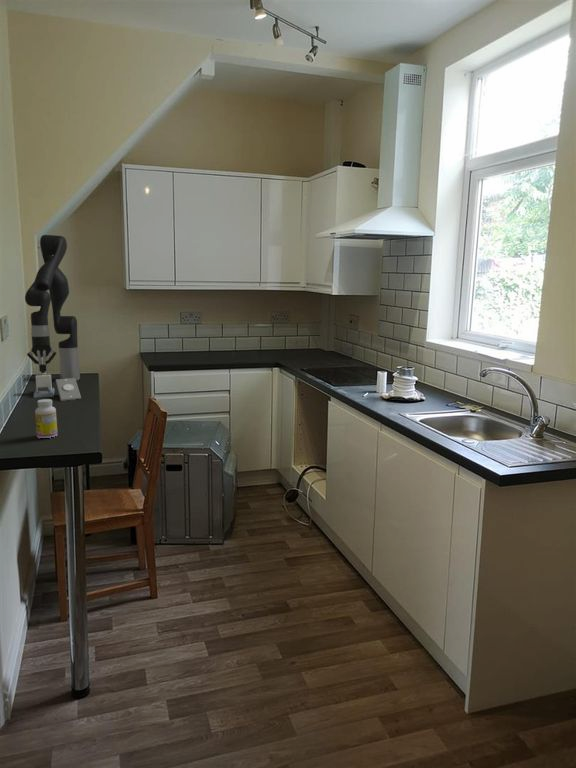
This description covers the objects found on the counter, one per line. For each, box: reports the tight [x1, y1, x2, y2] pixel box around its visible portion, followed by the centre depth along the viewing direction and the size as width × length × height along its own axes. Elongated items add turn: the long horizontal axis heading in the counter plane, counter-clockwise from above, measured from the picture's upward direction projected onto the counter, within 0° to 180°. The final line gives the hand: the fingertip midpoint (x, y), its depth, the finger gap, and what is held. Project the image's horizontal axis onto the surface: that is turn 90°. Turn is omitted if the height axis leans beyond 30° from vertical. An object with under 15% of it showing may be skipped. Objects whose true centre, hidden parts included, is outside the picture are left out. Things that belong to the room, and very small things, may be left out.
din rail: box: [38, 387, 49, 394], centre depth 274 cm, size 14×4×3 cm, turn 18°
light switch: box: [55, 378, 82, 402], centre depth 267 cm, size 8×6×14 cm
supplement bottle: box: [34, 398, 58, 439], centre depth 203 cm, size 7×7×13 cm
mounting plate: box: [33, 387, 56, 399], centre depth 274 cm, size 14×8×2 cm, turn 18°
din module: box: [35, 373, 53, 392], centre depth 273 cm, size 5×6×7 cm
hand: (43, 372), depth 272 cm, fingers closed
